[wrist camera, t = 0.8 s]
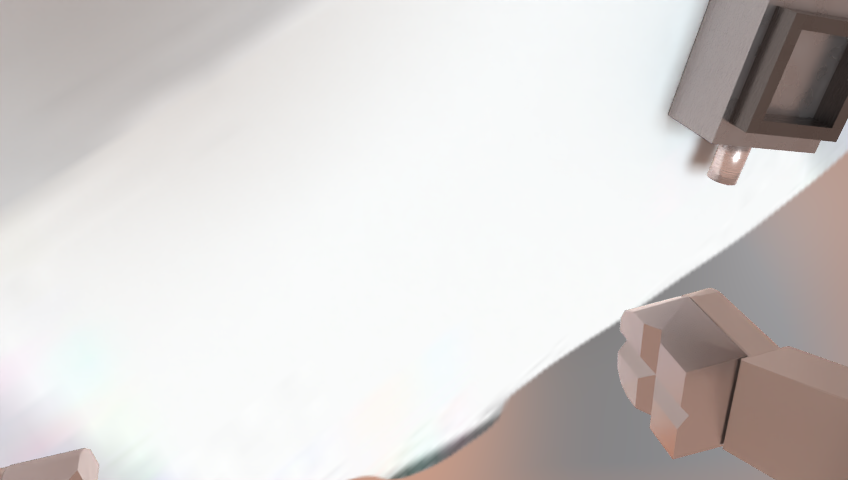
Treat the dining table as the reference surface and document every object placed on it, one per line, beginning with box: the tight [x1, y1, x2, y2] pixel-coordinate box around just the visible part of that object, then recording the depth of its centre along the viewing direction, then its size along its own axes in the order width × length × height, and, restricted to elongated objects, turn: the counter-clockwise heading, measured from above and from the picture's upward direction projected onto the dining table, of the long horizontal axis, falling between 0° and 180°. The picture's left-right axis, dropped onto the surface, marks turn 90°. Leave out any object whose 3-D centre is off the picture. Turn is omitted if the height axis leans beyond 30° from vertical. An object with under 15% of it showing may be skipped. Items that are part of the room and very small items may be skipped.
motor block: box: [668, 0, 848, 185], centre depth 55 cm, size 16×10×8 cm, turn 169°
